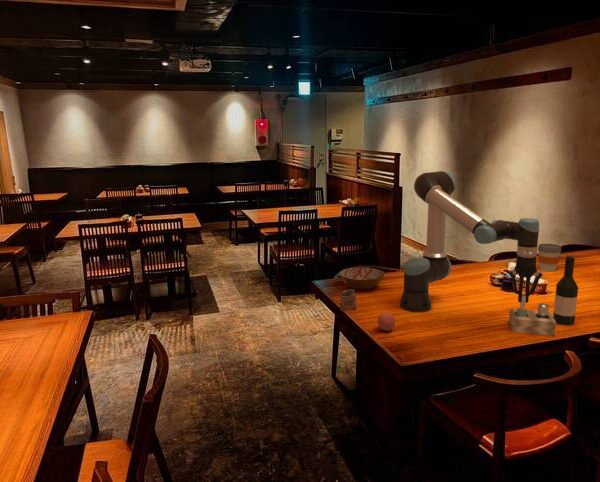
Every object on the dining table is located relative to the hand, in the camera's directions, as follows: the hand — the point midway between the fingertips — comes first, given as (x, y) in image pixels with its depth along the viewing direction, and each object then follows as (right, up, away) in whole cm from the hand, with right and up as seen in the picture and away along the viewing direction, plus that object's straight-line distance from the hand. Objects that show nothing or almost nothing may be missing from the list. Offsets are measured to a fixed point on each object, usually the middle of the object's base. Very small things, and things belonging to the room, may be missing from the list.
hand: (522, 309), depth 198 cm
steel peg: (+8, -3, -2) cm, 8 cm away
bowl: (-60, +3, +62) cm, 86 cm away
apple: (-57, -9, +3) cm, 58 cm away
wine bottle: (+21, -7, +7) cm, 24 cm away
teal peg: (0, -6, +1) cm, 6 cm away
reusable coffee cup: (+57, +11, +87) cm, 104 cm away
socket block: (+4, -8, +1) cm, 9 cm away
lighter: (-71, -4, +27) cm, 77 cm away
